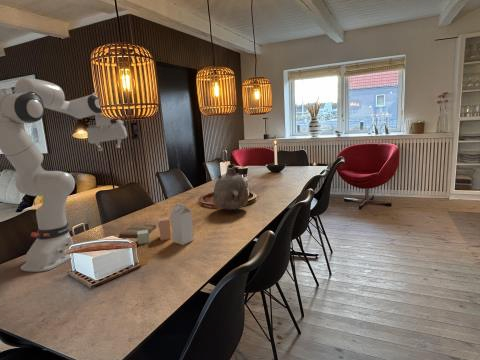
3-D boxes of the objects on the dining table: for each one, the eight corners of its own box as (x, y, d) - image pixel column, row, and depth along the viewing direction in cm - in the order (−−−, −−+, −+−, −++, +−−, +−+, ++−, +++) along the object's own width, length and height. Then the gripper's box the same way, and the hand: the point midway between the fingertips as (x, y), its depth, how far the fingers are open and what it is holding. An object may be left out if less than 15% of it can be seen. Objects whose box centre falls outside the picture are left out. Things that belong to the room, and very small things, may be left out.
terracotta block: (170, 238, 157) (169, 219, 155) (160, 240, 155) (158, 221, 153) (169, 235, 161) (167, 216, 159) (159, 236, 160) (157, 218, 158)
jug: (206, 210, 200) (203, 164, 194) (233, 203, 213) (230, 160, 207) (230, 219, 182) (228, 168, 175) (257, 211, 195) (256, 163, 189)
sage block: (149, 242, 153) (148, 232, 152) (138, 244, 152) (137, 234, 151) (148, 238, 158) (147, 229, 157) (138, 240, 156) (137, 231, 155)
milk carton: (184, 237, 157) (181, 201, 154) (193, 240, 153) (191, 203, 149) (173, 242, 152) (169, 204, 148) (182, 245, 148) (179, 206, 144)
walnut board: (144, 237, 160) (144, 234, 160) (119, 236, 162) (119, 234, 162) (156, 227, 173) (155, 225, 173) (132, 227, 176) (132, 224, 175)
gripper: (83, 125, 163) (87, 152, 164) (121, 119, 162) (125, 145, 163) (89, 127, 169) (93, 152, 170) (126, 121, 169) (130, 146, 169)
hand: (109, 149), depth 166 cm, fingers open, 8 cm apart
